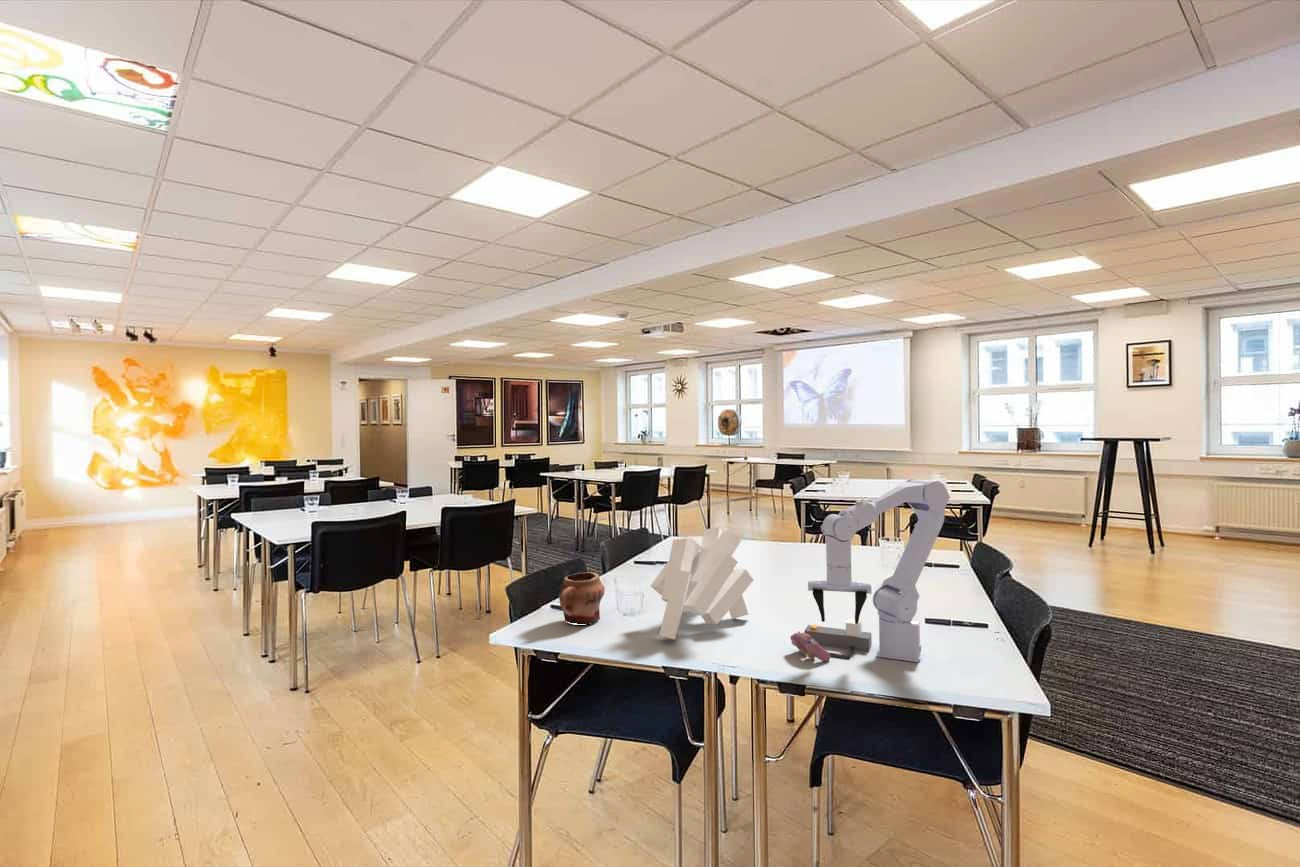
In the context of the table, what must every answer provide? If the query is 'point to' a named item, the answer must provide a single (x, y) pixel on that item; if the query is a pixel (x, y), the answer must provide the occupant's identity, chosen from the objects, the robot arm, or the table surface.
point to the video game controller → (809, 646)
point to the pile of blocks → (702, 581)
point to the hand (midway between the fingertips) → (839, 621)
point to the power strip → (841, 637)
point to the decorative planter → (581, 597)
